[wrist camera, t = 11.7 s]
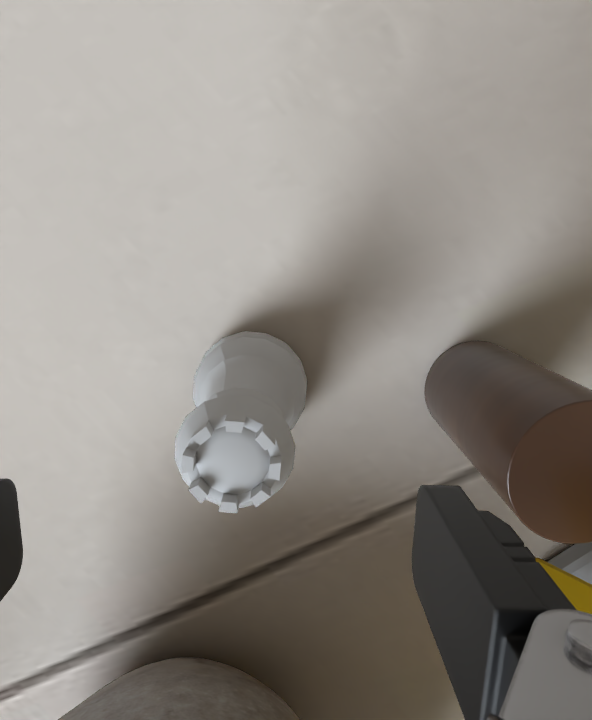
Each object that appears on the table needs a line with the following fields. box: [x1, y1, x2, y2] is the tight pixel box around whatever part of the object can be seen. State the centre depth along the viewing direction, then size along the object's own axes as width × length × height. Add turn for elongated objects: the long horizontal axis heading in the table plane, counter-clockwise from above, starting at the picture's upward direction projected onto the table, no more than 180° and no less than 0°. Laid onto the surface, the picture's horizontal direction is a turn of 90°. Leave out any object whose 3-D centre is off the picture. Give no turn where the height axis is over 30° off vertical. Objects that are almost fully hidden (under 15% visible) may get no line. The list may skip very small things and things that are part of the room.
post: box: [425, 341, 592, 544], centre depth 17 cm, size 4×4×8 cm
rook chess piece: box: [175, 331, 307, 513], centre depth 17 cm, size 4×4×8 cm
